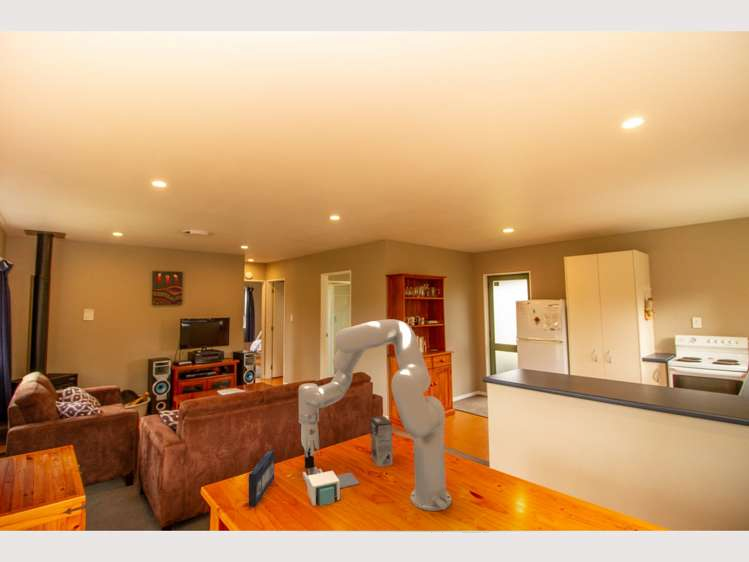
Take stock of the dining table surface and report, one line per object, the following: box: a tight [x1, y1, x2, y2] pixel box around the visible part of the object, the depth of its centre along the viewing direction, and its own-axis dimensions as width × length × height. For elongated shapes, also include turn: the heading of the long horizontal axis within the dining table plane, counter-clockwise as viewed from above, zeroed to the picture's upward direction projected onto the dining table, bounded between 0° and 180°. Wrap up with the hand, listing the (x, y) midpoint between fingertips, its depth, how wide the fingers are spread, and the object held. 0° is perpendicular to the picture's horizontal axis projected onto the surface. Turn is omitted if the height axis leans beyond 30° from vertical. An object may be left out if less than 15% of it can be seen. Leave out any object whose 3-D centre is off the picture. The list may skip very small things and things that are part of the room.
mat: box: [336, 472, 361, 489], centre depth 127 cm, size 9×9×1 cm
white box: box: [302, 468, 341, 507], centre depth 122 cm, size 20×9×6 cm, turn 23°
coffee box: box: [369, 415, 394, 468], centre depth 143 cm, size 9×6×16 cm
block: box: [316, 484, 335, 506], centre depth 114 cm, size 4×4×4 cm
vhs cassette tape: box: [247, 450, 275, 508], centre depth 121 cm, size 18×3×10 cm, turn 176°
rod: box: [307, 466, 320, 494], centre depth 124 cm, size 14×3×4 cm, turn 23°
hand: (309, 467), depth 135 cm, fingers closed
